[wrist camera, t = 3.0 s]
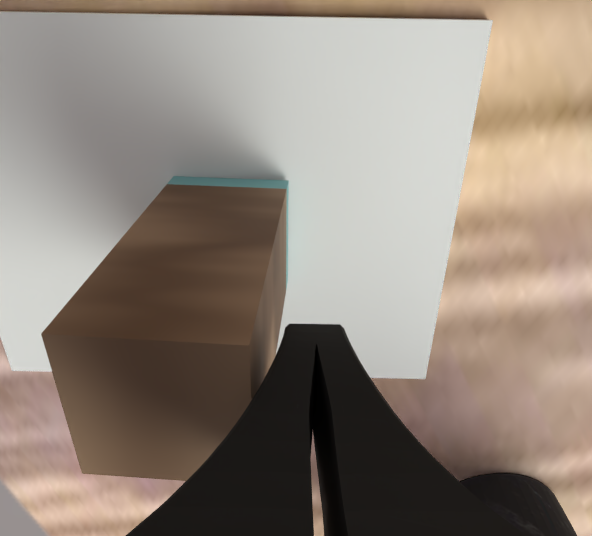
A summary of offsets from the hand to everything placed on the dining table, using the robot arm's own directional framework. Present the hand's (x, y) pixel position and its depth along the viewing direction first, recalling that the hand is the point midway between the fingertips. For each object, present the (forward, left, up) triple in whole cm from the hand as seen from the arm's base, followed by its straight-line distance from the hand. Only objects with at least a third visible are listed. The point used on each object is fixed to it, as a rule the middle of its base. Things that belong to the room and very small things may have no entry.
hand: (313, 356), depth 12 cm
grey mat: (+4, 0, -8) cm, 8 cm away
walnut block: (+3, 0, -7) cm, 7 cm away
